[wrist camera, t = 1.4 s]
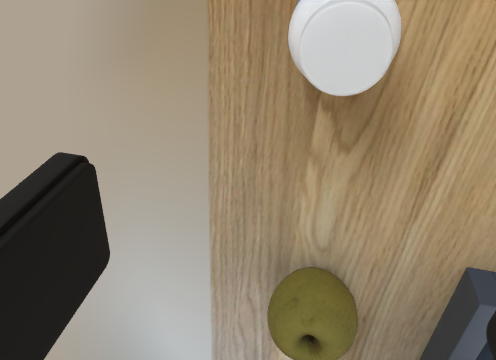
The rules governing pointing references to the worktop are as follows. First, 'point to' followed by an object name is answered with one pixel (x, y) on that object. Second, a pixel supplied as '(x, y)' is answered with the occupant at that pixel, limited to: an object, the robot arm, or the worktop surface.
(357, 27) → the pill bottle
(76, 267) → the robot arm
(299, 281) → the apple
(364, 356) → the worktop surface
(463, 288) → the holder
